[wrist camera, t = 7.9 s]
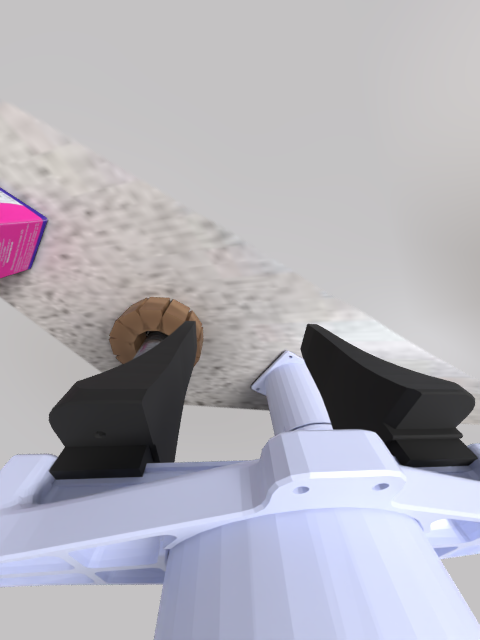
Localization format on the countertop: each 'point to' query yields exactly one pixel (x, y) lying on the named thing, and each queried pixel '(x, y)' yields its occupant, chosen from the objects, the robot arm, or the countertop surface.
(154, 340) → the metal peg
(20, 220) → the supplement box
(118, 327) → the walnut bead
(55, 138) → the countertop surface
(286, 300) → the countertop surface
